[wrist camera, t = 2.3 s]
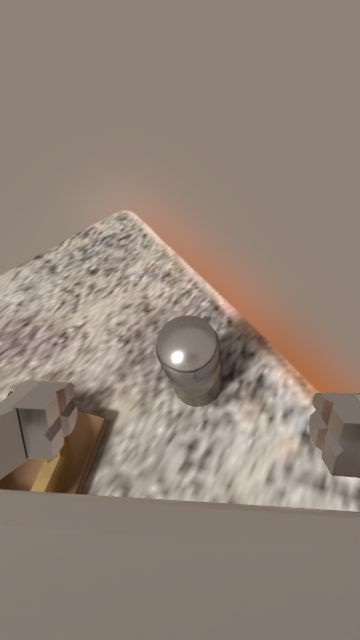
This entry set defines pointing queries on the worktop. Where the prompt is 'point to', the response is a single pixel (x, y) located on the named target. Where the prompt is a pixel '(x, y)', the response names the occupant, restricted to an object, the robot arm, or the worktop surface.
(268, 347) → the worktop surface
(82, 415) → the board
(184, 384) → the grey metal cylinder
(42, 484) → the ring
